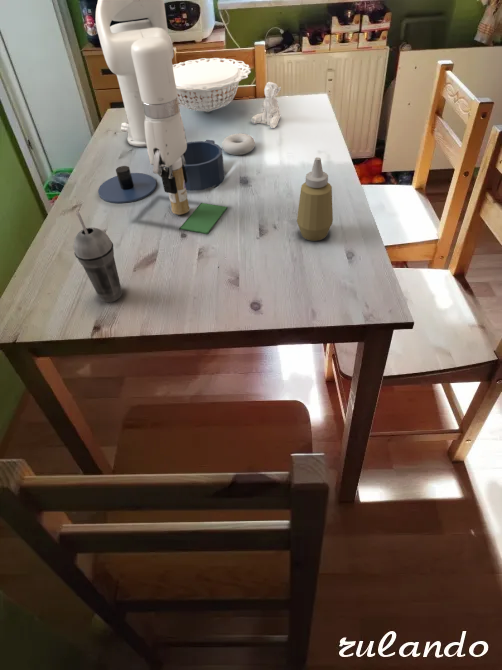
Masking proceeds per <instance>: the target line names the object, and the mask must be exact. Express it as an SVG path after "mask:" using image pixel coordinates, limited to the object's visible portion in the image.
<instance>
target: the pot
mask: <svg viewBox="0 0 502 670" xmlns="http://www.w3.org/2000/svg"><path fill="white" fill-rule="evenodd" d="M186 143H187V149H186V152H185V153H186V154H185V162H186V164H185V166H184V167H185V169H186V175H187V183H185V186H186V191H192V192H193V191H203V190H208V189H211V188H214V189H215V188H217V187H219V186H220V185H221V184H223V182H224V180H225V178H226V177H225V165H224V154H223V147H222V146H220V145H219V144H217V143H216V142H215V140H214V139H205V140H196V141H189V142H186Z"/></svg>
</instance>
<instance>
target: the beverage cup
mask: <svg viewBox="0 0 502 670" xmlns="http://www.w3.org/2000/svg"><path fill="white" fill-rule="evenodd" d="M76 215H77V218H78V220H79V223H80V225H81V227H82V229H81V230H79V232H78V233H77V234H76V236H75V237H74V239H73V251H74V253H73V254H74V256H75V258H76V259H77V261H78V262H79V263H80V265H82V268H83V269H84V271H85V273H86V275H87V277H88V279H89V281H90V283H91V284H92V286H93V288H94V290H95V292H96V294H97V296H98V297H99V299H100V301H102V302H103V303H113V302H115V301H118V300H119V299H120V298H121V297H122V294H123V293H122V287H121V286H122V285H121V282H120V278H119V273H118V269H117V265H116V259H115V250H114V243H113V242H112V240H111V238H110V237H109V235H108V234H107V233H106V232H105V231H104V230H102V229H100V228H97V227H86V224H85V223H84V220H83V217H82V216H81V214H80V211H77V212H76Z"/></svg>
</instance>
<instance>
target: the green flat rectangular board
mask: <svg viewBox="0 0 502 670" xmlns="http://www.w3.org/2000/svg"><path fill="white" fill-rule="evenodd" d="M227 210H228V206H225V205H224V206H223V205H219V204H213V203H212V204H211V203H204V202H200V203H199V205H198V206H197V207H196V208H195V209H194V211H193V212H192V213H191V214H190V215H189V216H188V217H187V219H186V220H185V221H184V222H183V223H182V224H181V226H180V227H179V228H178V230H182V231H189V232H194V233H197V234H198V233H200V234H205V235H209V233H210V231H211V230H212V229H213V228H214V226H215V225H216V224H217V222H218V221H219V220H220V219H221V217H223V215H224V213H225V212H226V211H227Z"/></svg>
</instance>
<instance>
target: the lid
mask: <svg viewBox="0 0 502 670" xmlns="http://www.w3.org/2000/svg"><path fill="white" fill-rule="evenodd" d="M115 173H116V175H115V176H113V177H110V178H108V179H107V180H105V181H104V182H102V183H101V185H100V186H99V187H98V191H97V192H98V196H99V198H100V199H101V200H102V201H104V202H107V203H111V204H128V203H134V202H138V201H140V200H142V199H145V198H147V197H148V196H150V195H152V194H153V192H155V190H156V188H157V181H156V179H155V178H154V177H153V176H152V175H150V174H147V173H143V172H131V169H130V166H129V165H121V166H118V167H117V168H116V169H115Z"/></svg>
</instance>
